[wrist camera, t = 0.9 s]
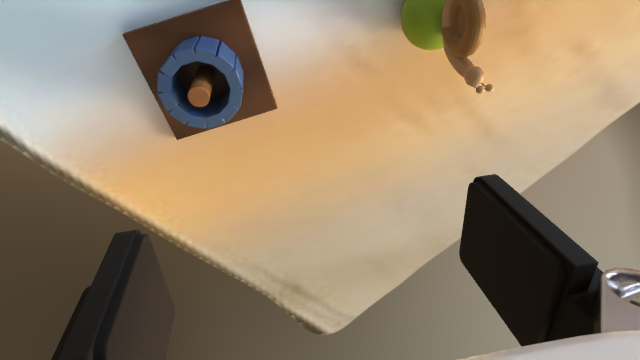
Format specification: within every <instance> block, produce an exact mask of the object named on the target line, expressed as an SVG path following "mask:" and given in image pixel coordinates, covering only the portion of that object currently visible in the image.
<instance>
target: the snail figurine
mask: <svg viewBox="0 0 640 360" xmlns="http://www.w3.org/2000/svg"><path fill="white" fill-rule="evenodd" d="M401 26H402V30H403V32H404V34H405V36H406V37H407V39H408V40H409V41H410V42H411V43H412V44H413V45H415V46H417V47H419V48H421V49H425V50H437V49H441V48H444V51H445V54H446V56H447V58H448V60H449V61H450V63H451V65H452V66H453V67H454V69H455V70H456V71H457V72H458V73H459V74H460V75H461V76H462V77H464V79H465V81H466V83H467V84H468V85H470V86H472V87H475V88H476V86H478V87H477V88H476V92H477V93H483V92H484V87H485V90H486V91H487V92H490V91H492V90H493V85H491V84H488V85H486V86H485V85H484V84H483V83H482V81H483V79H484V73H483V71H482V69H481V68H479V67H477V66H474V65H473V64H472V62H471V61H470V60H469V59H468V58H467V56H470V55H472V54H473V53H474V52H475V51H476V50H477V49H478V48H479V46H480V45H481V42H482V40H483V37H484V33H485V27H486V14H485V8H484V5H483V2H482V0H405V2H404V5H403V7H402V11H401ZM480 84H482V85H483V86H484V87H483V86H479V85H480Z"/></svg>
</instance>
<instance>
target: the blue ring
mask: <svg viewBox="0 0 640 360" xmlns="http://www.w3.org/2000/svg"><path fill="white" fill-rule="evenodd" d="M195 61H197V62H202V63H207V64H211V65H213V66H214V67H216V68H217V69H218V70H219V71H220V72H222V73H223V74H224V75H225V77H226V80H227V82H228V85H229V88H228V89H227V90H226V91H225V93H224V94H223V95H222V96H219V97H216V98H213V99H210V100H209V102H208V104H207V105H205V106H203V107H196V106H194V105H192V104H191V103H190V102H189V100H188V92H189V91H187V90H186V89H185V88H184V86H183V84H182V81H181V79H180V77H179V69H180V67H181V66H182V65H186V64H189V63H192V62H195ZM243 77H244V75H243V69H242V67H241V64H240V61H239V59H238V56H235V52H234V51H232V50H231V49H230V48H229V47H228V46H227V45H226V44H225V43H223V42H221V43H220V44H219V40H218V39H214V38H209V37H205V36H201V38H199V36H196V37H193V38H190V39H186V40H183V41H182V42H181V43H179V44H178V45H177V46H176V47H175V49H174V50H173V51H172V52H171V54H170V55H169V56H168V58H167V59H166V61H165V62H164V64H163V65H162V67H161V68H160V71H159V73H158V82H157V91H158V92H159V93H158V96H159V98H160V100H161V102H162V104H163V106H164V108H165V110H166V111H169V110H170V111H169V114H170V115H171V116H173V117H174V118H175V119H177V120H178V121H180V122H181V123H182V124H185V123H186V122H187V126H191V127H196V128H202V129H205V128H206V125H207V128H208V129H210V128H213V127H216V126H219V125H222V124H225V121H226V122H228V121H229V120H230V119H231V118H232V117H233V116H234V115H235V113H236V112H237V111H238V110H239V107H240V106H241V100H242V94H243Z"/></svg>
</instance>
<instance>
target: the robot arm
mask: <svg viewBox="0 0 640 360" xmlns="http://www.w3.org/2000/svg"><path fill="white" fill-rule="evenodd" d="M459 253H460V259H461V261H462V263H463V265H464V266H465V268H466V269H467V270H468V272H469V273H470V274H471V276H472V277H473V279H474V280H475V282H476V283H477V284H478V286H479V287H480V288H481V290H482V291H483V293H484V294H485V296H486V297H487V298H488V300H489V301H490V302H491V304H492V305H493V307H494V308H495V309H496V311H497V312H498V314H499V315H500V317H501V318H502V319H503V321H504V322H505V324H506V325H507V326H508V328H509V329H510V331H511V332H512V333H513V335H514V336H515V338H516V339H517V340H518V342H519V343H520V345H521V346H522V347H518V348H513V349H508V350H503V351H497V352H493V353H488V354H483V355H478V356H473V357H468V358H463V359H458V360H640V271H637V270H634V269H628V268H613V269H610V270H607V271H605V272H604V273H603V272H602V271H601V270H600V269H599V268H598V267H597V265H598V262H597V261H596V260H595V259H594V258H593V257H591V256H590V255H589V254H588V253H587V252H586V251H585V250H584V249H582V248H581V247H580V246H579V245H578V244H576V243H575V242H574V241H573V240H572V239H571V238H570V237H568V236H567V235H566V234H565V233H564V232H563V231H561V230H560V229H559V228H558V227H557V226H556V225H555V224H553V223H552V222H551V221H550V220H549V219H548V218H547V217H545V216H544V215H543V214H542V213H541V212H540V211H538V210H537V209H536V208H535V207H534V206H533V205H531V204H530V203H529V202H528V201H527V200H526V199H525V198H523V197H522V196H521V195H520V194H519V193H518V192H517V191H515V190H514V189H513V188H512V187H511V186H510V185H508V184H507V183H506V182H505V181H504V180H503V179H501V178H500V177H499V176H498V175H496V174H493V175H486V176H480V177H476V178H475V179H474V181H473V182H472V183H470V184H469V187H468V193H467V200H466V208H465V215H464V222H463V229H462V237H461V244H460V252H459ZM173 319H174V303H173V300H172V297H171V295H170V292H169V289H168V286H167V284H166V281H165V279H164V275H163V273H162V270H161V267H160V265H159V262H158V259H157V257H156V254H155V251H154V248H153V246H152V243H151V240H150V238H149V236H148V234H142V233H141V232H140V231H139V230H133V231H126V232H120V233H116V234H115V235H114V237H113V239H112V241H111V243H110V245H109V247H108V250H107V252H106V254H105V256H104V259H103V261H102V263H101V265H100V267H99V269H98V272H97V274H96V276H95V278H94V281H93V283H92V285H91V286H89V287H87V288H86V289H85V290H84V292H83V293H82V296H81V298H80V300H79V302H78V304H77V306H76V308H75V311H74V313H73V315H72V317H71V319H70V321H69V323H68V325H67V327H66V330H65V332H64V334H63V336H62V338H61V340H60V342H59V344H58V347H57V349H56V351H55V353H54V355H53V357H52V360H166V357H167V351H168V346H169V340H170V335H171V330H172V325H173Z"/></svg>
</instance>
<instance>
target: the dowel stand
mask: <svg viewBox="0 0 640 360" xmlns="http://www.w3.org/2000/svg"><path fill="white" fill-rule="evenodd" d="M196 36H199V38H201V36H205V37H209V38H214V39H218V40H219V44H220V43H221V42H223V43H225V44H226V45H227V46H228V47H229V48H230V49H231V50H232V51H234V52H235V56H238V59H239V61H240V64H241V67H242V69H243V75H244V77H243V94H242V100H241V106H240V107H239V110H238V111H237V112H236V113H235V115H234V116H233V117H232V118H231V119H230V120H229V121H228V122H226V121H225V124H222V125H219V126H216V127H213V128H210V129H214V128H217V127H220V126H223V125H226V124H230V123H233V122H236V121H239V120H242V119H246V118H249V117H252V116H255V115H258V114H262V113H265V112H268V111H271V110H274V109H277V105H276V102H275V99H274V96H273V93H272V90H271V87H270V84H269V81H268V78H267V76H266V73H265V70H264V67H263V64H262V61H261V58H260V55H259V52H258V49H257V46H256V44H255V41H254V38H253V35H252V32H251V29H250V26H249V23H248V20H247V17H246V15H245V12H244V9H243V6H242V3H241V0H228V1H224V2H221V3H218V4H215V5H212V6H209V7H205V8H202V9H199V10H196V11H193V12H189V13H186V14H183V15H180V16H177V17H174V18H170V19H167V20H164V21H161V22H158V23H154V24H151V25H148V26H145V27H142V28H139V29H135V30H132V31H129V32H126V33H124V34H123V37H124V39H125V41H126V43H127V44H128V46H129V48H130V50H131V52H132V54H133V56H134V58H135V60H136V62H137V64H138V66H139V68H140V69H141V71H142V73H143V75H144V77H145V79H146V81H147V83H148V85H149V87H150V89H151V91H152V93H153V94H154V96H155V98H156V100H157V102H158V104H159V106H160V108H161V110H162V112H163V114H164V116H165V118H166V119H167V121H168V123H169V125H170V127H171V129H172V131H173V133H174V135H175V137H176V139H177V140H178V139H182V138H185V137H188V136H191V135H194V134H198V133H201V132H204V131H207V130H210V129H208V128H207V125H206V128H205V129H202V128H196V127H191V126H187V122H186V123H185V124H182V123H181V122H180V121H178V120H177V119H175V118H174V117H173V116H171V115H170V114H169V111H170V110H169V111H166V110H165V108H164V106H163V104H162V102H161V100H160V98H159V96H158V93H159V92H158V91H157V82H158V73H159V71H160V68H161V67H162V65H163V64H164V62H165V61H166V59H167V58H168V56H169V55H170V54H171V52H172V51H173V50H174V49H175V47H176V46H177V45H178V44H179V43H181V42H182V41H183V40H186V39H190V38H193V37H196ZM179 77H180V79H181V81H182V84H183V86H184V88H185V89H186V90H187V91H189V92H188V100H189V102H190V103H191V104H192V105H194V106H196V107H203V106H205V105H207V104H208V102H209V100H210V99H213V98H216V97H219V96H222V95H223V94H224V93H225V91H226V90H227V89H228V88H229V85H228V82H227V80H226V77H225V75H224V74H223V73H222V72H220V71H219V70H218V69H217V68H216V67H214V66H213V65H211V64H207V63H202V62H197V61H195V62H192V63H189V64H186V65H182V66H181V67H180V69H179Z"/></svg>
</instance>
